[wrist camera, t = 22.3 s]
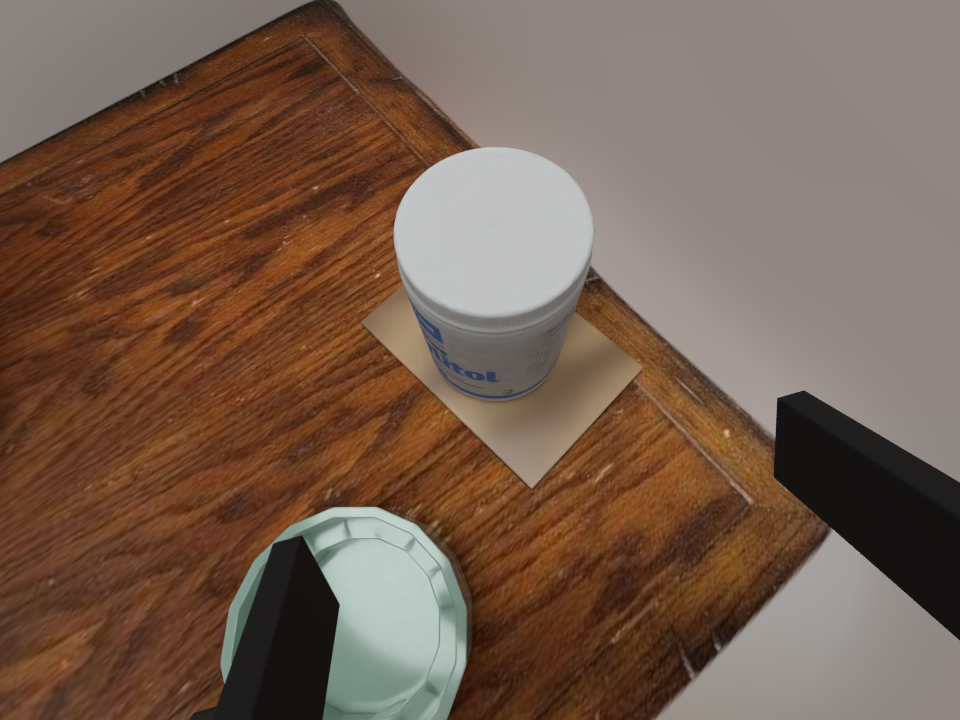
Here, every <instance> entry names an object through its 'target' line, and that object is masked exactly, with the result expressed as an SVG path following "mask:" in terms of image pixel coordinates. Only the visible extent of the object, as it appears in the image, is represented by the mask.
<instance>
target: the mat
mask: <svg viewBox="0 0 960 720" xmlns="http://www.w3.org/2000/svg"><path fill="white" fill-rule="evenodd" d="M361 324H362V325H363V326H364V327H365V328H366V329H367V330H368V331H369V332H370V333H371V334H372V335H373V336H374V337H375V338H376V339H377V340H378V341H379V342H380V343H381V344H382V345H383V346H384V347H385V348H386V349H387V350H388V351H389V352H390V353H391V354H392V355H393V356H394V357H395V358H396V359H398V360H399V361H400V362H401V363H402V364H403V365H404V366H405V367H406V368H407V369H408V370H409V371H410V372H411V373H412V374H413V375H414V376H415V377H416V378H417V379H418V380H419V381H420V382H421V383H422V384H423V385H424V386H425V387H426V388H427V389H428V390H429V391H430V392H431V393H432V394H433V395H434V396H435V397H436V398H438V399H439V400H440V401H441V402H442V403H443V404H444V405H445V406H446V407H447V408H448V409H449V410H450V411H451V412H452V413H453V414H454V415H455V416H456V417H457V418H458V419H459V420H460V421H461V422H462V423H463V424H464V425H465V426H466V427H467V428H468V429H469V430H470V431H471V432H472V433H473V434H474V435H475V436H477V437H478V438H479V439H480V440H481V441H482V442H483V443H484V444H485V445H486V446H487V447H488V448H489V449H490V450H491V451H492V452H493V453H494V454H495V455H496V456H497V457H498V458H499V459H500V460H501V461H502V462H503V463H504V464H505V465H506V466H507V467H508V468H509V469H510V470H511V471H512V472H513V473H514V474H515V475H517V476H518V477H519V478H520V479H521V480H522V481H523V482H524V483H525V484H526V485H527V486H528V487H529V488H530V489H531V490H532V489H533V488H534V487H535V486H536V485H537V484H538V483H539V482H540V480H541V479H542V478H543V477H544V476H545V475H546V474H547V473H548V472H549V471H550V469H551V468H552V467H553V466H554V465H555V464H556V463H557V462H558V461H559V460H560V459H561V457H562V456H563V455H564V454H565V453H566V452H567V451H568V450H569V449H570V448H571V447H572V445H573V444H574V443H575V442H576V441H577V440H578V439H579V438H580V437H581V436H582V434H583V433H584V432H585V431H586V430H587V429H588V428H589V427H590V426H591V425H592V424H593V422H594V421H595V420H596V419H597V418H598V417H599V416H600V415H601V414H602V413H603V412H604V410H605V409H606V408H607V407H608V406H609V405H610V404H611V403H612V402H613V401H614V400H615V398H616V397H617V396H618V395H619V394H620V393H621V392H622V391H623V390H624V389H625V387H626V386H627V385H628V384H629V383H630V382H631V381H632V380H633V379H634V378H635V377H636V375H637V374H638V373H639V372H640V371H641V370H642V369H643V366H642V365H641V364H640V363H638V362H637V361H636V360H635V359H633V358H632V357H631V356H630V355H628V354H627V353H626V352H625V351H623V350H622V349H621V348H620V347H618V346H617V345H616V344H615V343H614V342H612V341H611V340H610V339H609V338H607V337H606V336H605V335H604V334H602V333H601V332H600V331H599V330H597V329H596V328H595V327H594V326H592V325H591V324H590V323H589V322H587V321H586V320H585V319H584V318H582V317H581V316H580V315H579V314H577V313H576V312H575V311H574V314H573V317H572V320H571V323H570V325H569V328H568V331H567V334H566V337H565V340H564V342H563V345H562V348H561V351H560V354H559V357H558V359H557V361H556V364H555V366H554V368H553V370H552V372H551V373H550V375H549V376H548V377H547V378H546V380H545V381H544V382H543V383H542V384H541V385H540V386H538V387H537V388H536V389H534V390H533V391H531V392H530V393H528V394H526V395H524V396H521V397H519V398H516V399H512V400H507V401H485V400H480V399H476V398H472V397H470V396H467V395H465V394H463V393H461V392H459V391H458V390H456V389H455V388H454V387H452V386H451V385H450V384H449V383H448V382H447V381H446V380H445V379H444V377H443V376H442V375H441V374H440V372H439V370H438V369H437V367H436V365H435V362H434V360H433V358H432V356H431V353H430V351H429V348H428V345H427V343H426V340H425V338H424V336H423V333H422V331H421V328H420V326H419V323H418V320H417V318H416V316H415V313H414V310H413V308H412V305H411V303H410V300H409V298H408V295H407V293H406V290H405V287H404V284H403V285H402V286H401V287H400V288H399V289H397V290H396V291H395V292H394V293H393V294H392V295H391V296H389V297H388V298H387V299H386V300H385V301H384V302H383V303H382V304H380V305H379V306H378V307H377V308H376V309H375V310H374V311H373V312H371V313H370V314H369V315H368V316H367V317H366V318H365V319H363V320H362V321H361Z"/></svg>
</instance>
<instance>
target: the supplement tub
mask: <svg viewBox="0 0 960 720" xmlns="http://www.w3.org/2000/svg"><path fill="white" fill-rule="evenodd" d="M593 241H594V221H593V215H592V212H591V208H590V205H589V202H588V200H587V198H586V196H585V195H584V193H583V191H582V189H581V188H580V187H579V185H578V184H577V183H576V181H575V180H574V179H573V178H572V177H571V176H570V175H568V174H567V173H566V172H565V171H564V170H563V169H562V168H560V167H559V166H557V165H556V164H554V163H553V162H551V161H549V160H547V159H545V158H543V157H541V156H539V155H536V154H533V153H530V152H527V151H523V150H518V149H513V148H504V147H489V148H479V149H473V150H468V151H465V152H461V153H458V154H455V155H453V156H450V157H448V158H446V159H444V160H442V161H440V162H438V163H437V164H435V165H433V166H432V167H430V168H429V169H428V170H427V171H425V172H424V173H423V174H422V175H421V176H420V177H419V178H418V179H417V180H416V181H415V182H414V183H413V184H412V185H411V187H410V188H409V189H408V191H407V192H406V194H405V195H404V197H403V199H402V201H401V203H400V205H399V208H398V211H397V214H396V219H395V224H394V245H395V251H396V255H397V261H398V266H399V272H400V276H401V279H402V282H403V284H404V287H405V290H406V293H407V295H408V298H409V300H410V303H411V305H412V308H413V310H414V313H415V316H416V318H417V320H418V323H419V326H420V328H421V331H422V333H423V336H424V338H425V340H426V343H427V345H428V348H429V351H430V353H431V356H432V358H433V360H434V362H435V365H436V367H437V369H438V370H439V372H440V374H441V375H442V376H443V377H444V379H445V380H446V381H447V382H448V383H449V384H450V385H451V386H452V387H454V388H455V389H456V390H458V391H459V392H461V393H463V394H465V395H467V396H470V397H472V398H476V399H480V400H485V401H507V400H512V399H516V398H519V397H521V396H524V395H526V394H528V393H530V392H531V391H533V390H534V389H536V388H537V387H538V386H540V385H541V384H542V383H543V382H544V381H545V380H546V378H547V377H548V376H549V375H550V373H551V372H552V370H553V368H554V366H555V364H556V361H557V359H558V357H559V354H560V351H561V348H562V345H563V342H564V340H565V337H566V334H567V331H568V328H569V325H570V323H571V320H572V317H573V314H574V311H575V308H576V306H577V303H578V300H579V297H580V294H581V291H582V288H583V285H584V282H585V279H586V276H587V273H588V270H589V266H590V263H591V257H592V247H593Z"/></svg>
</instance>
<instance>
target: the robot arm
mask: <svg viewBox="0 0 960 720" xmlns="http://www.w3.org/2000/svg"><path fill="white" fill-rule="evenodd" d="M774 478H775V479H776V480H778V481H779V482H780V483H781V484H782V485H783V486H784V487H786V488H787V489H788V490H789V491H790V492H791V493H792V494H794V495H795V496H796V497H797V498H798V499H799V500H800V501H802V502H803V503H804V504H805V505H806V506H807V507H808V508H810V509H811V510H812V511H813V512H814V513H815V514H816V515H817V516H819V517H820V518H821V519H822V520H823V521H824V522H825V523H827V524H828V525H829V526H830V527H831V528H832V529H833V530H835V531H836V532H837V533H838V534H839V535H840V536H841V537H843V538H844V539H845V540H846V541H847V542H848V543H849V544H851V545H852V546H853V547H854V548H855V549H856V550H857V551H859V552H860V553H861V554H862V555H863V556H864V557H865V558H867V559H868V560H869V561H870V562H871V563H872V564H873V565H875V566H876V567H877V568H878V569H879V570H880V571H882V572H883V573H884V574H885V575H886V576H887V577H888V578H889V579H891V580H892V581H893V582H894V583H895V584H896V585H897V586H898V587H900V588H901V589H902V590H903V591H904V592H905V593H907V594H908V595H909V596H910V597H911V598H913V600H914V601H916V602H917V603H918V604H919V605H920V606H921V607H922V608H924V609H925V610H926V611H927V612H928V613H929V614H930V615H931V616H933V617H934V618H935V619H936V620H937V621H938V622H940V623H941V624H942V625H943V626H944V627H945V628H946V629H948V630H949V631H950V632H951V633H952V634H953V635H954V636H955V637H957V638H958V639H959V640H960V482H958V481H956V480H955V479H953V478H951V477H949V476H948V475H946V474H944V473H943V472H941V471H939V470H938V469H936V468H934V467H933V466H931V465H929V464H927V463H926V462H924V461H922V460H921V459H919V458H917V457H916V456H914V455H912V454H911V453H909V452H907V451H905V450H904V449H902V448H900V447H899V446H897V445H895V444H894V443H892V442H890V441H889V440H887V439H885V438H884V437H882V436H880V435H878V434H877V433H875V432H873V431H872V430H870V429H868V428H867V427H865V426H863V425H862V424H860V423H858V422H857V421H855V420H853V419H851V418H850V417H848V416H846V415H845V414H843V413H841V412H840V411H838V410H836V409H835V408H833V407H831V406H830V405H828V404H826V403H824V402H823V401H821V400H819V399H818V398H816V397H814V396H813V395H811V394H809V393H808V392H806V391H801V392H797V393H794V394H790V395H787V396H783V397H780V398H778V399H777V418H776V439H775V461H774ZM339 607H340V604H339V602H338V600H337V598H336V596H335V595H334V593H333V591H332V589H331V587H330V585H329V584H328V582H327V580H326V578H325V576H324V574H323V573H322V571H321V569H320V567H319V565H318V563H317V561H316V560H315V558H314V556H313V554H312V552H311V550H310V549H309V547H308V545H307V543H306V541H305V539H304V538H303V536H302V535H300V536H297V537H293V538H290V539H286V540H283V541H279V542H276V543H273V545H272V548H271V551H270V554H269V557H268V560H267V563H266V566H265V569H264V572H263V574H262V577H261V580H260V583H259V586H258V589H257V592H256V595H255V598H254V601H253V603H252V606H251V609H250V612H249V615H248V618H247V621H246V624H245V627H244V629H243V632H242V635H241V638H240V641H239V644H238V647H237V650H236V653H235V656H234V658H233V661H232V664H231V667H230V670H229V673H228V676H227V679H226V682H225V685H224V687H223V690H222V693H221V696H220V699H219V702H218V705H217V706H216V707H213V708H210V709H206V710H203V711H200V712H196V713H194V714H193V715H192V717H191V718H190V720H323V714H324V707H325V701H326V694H327V687H328V681H329V674H330V667H331V661H332V654H333V647H334V641H335V634H336V627H337V621H338V614H339Z"/></svg>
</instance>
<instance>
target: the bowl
mask: <svg viewBox="0 0 960 720" xmlns="http://www.w3.org/2000/svg"><path fill="white" fill-rule="evenodd" d="M300 535H302V536H303V538H304V539H305V541H306V543H307V545H308V547H309V549H310V550H311V552H312V554H313V556H314V558H315V560H316V561H317V563H318V565H319V567H320V569H321V571H322V573H323V574H324V576H325V578H326V580H327V582H328V584H329V585H330V587H331V589H332V591H333V593H334V595H335V596H336V598H337V600H338V602H339V604H340V607H339V614H338V621H337V627H336V634H335V641H334V647H333V654H332V661H331V667H330V674H329V681H328V687H327V694H326V701H325V707H324V714H323V720H447V719H448V716H449V713H450V711H451V708H452V705H453V702H454V699H455V697H456V694H457V691H458V688H459V685H460V683H461V680H462V677H463V674H464V671H465V669H466V666H467V662H468V659H469V656H470V652H471V649H472V644H473V610H472V595H471V592H470V589H469V587H468V584H467V581H466V578H465V576H464V573H463V570H462V568H461V565H460V562H459V560H458V557H457V556H456V554H455V553H454V552H453V551H452V549H451V548H450V547H449V546H448V545H447V544H446V543H445V542H444V541H443V540H442V539H441V537H440V536H439V535H438V534H437V533H436V532H435V531H434V530H433V529H432V528H431V526H429V525H428V524H426V523H423V522H421V521H419V520H417V519H414V518H412V517H410V516H407V515H405V514H403V513H401V512H398V511H396V510H393V509H387V508H381V507H333V508H330V509H327V510H325V511H323V512H320V513H318V514H316V515H313V516H311V517H309V518H307V519H304V520H302V521H300V522H297V523H295V524H293V525H291V526H289V527H288V528H287V529H286V530H285V531H284V532H283V533H282V534H281V535H280V536H279V537H278V538H277V539H276V540H275V541H274V542H272V543H271V544H270V545H269V546H268V547H267V548H266V549H265V550H264V551H263V552H262V553H261V554H260V555H259V556H258V557H257V558H256V559H255V560H254V562H253V563H252V565H251V567H250V569H249V571H248V573H247V575H246V577H245V579H244V581H243V583H242V585H241V587H240V588H239V590H238V592H237V594H236V596H235V598H234V600H233V602H232V604H231V606H230V609H229V612H228V618H227V625H226V631H225V638H224V644H223V650H222V657H221V669H222V674H223V680H224V685H225V682H226V679H227V676H228V673H229V670H230V667H231V664H232V661H233V658H234V656H235V653H236V650H237V647H238V644H239V641H240V638H241V635H242V632H243V629H244V627H245V624H246V621H247V618H248V615H249V612H250V609H251V606H252V603H253V601H254V598H255V595H256V592H257V589H258V586H259V583H260V580H261V577H262V574H263V572H264V569H265V566H266V563H267V560H268V557H269V554H270V551H271V548H272V545H273V543H276V542H279V541H283V540H286V539H290V538H293V537H297V536H300Z"/></svg>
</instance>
